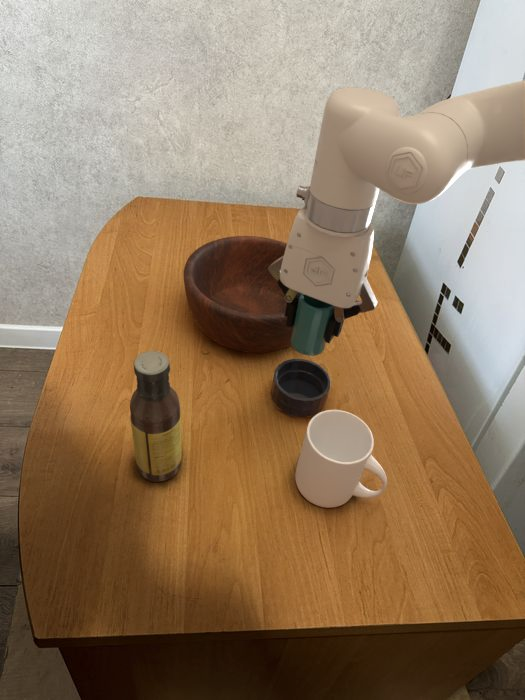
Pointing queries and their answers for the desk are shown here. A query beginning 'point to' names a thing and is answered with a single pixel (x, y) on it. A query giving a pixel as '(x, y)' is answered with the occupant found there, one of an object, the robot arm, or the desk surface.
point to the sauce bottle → (155, 418)
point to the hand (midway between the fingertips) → (311, 328)
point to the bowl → (300, 387)
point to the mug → (336, 459)
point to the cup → (311, 325)
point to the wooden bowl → (238, 293)
